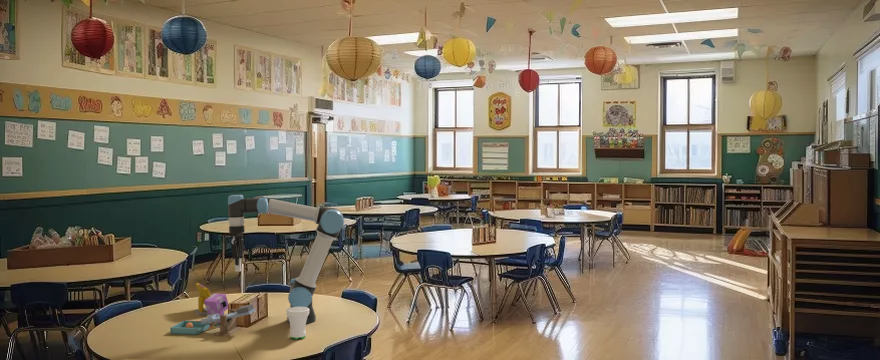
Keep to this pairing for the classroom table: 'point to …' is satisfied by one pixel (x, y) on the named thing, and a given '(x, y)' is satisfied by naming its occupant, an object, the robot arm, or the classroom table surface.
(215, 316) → the lever
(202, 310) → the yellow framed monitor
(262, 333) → the classroom table surface
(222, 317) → the fulcrum
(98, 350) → the classroom table surface
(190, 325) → the ball
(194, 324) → the tray
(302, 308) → the cup
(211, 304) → the toy
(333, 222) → the robot arm
